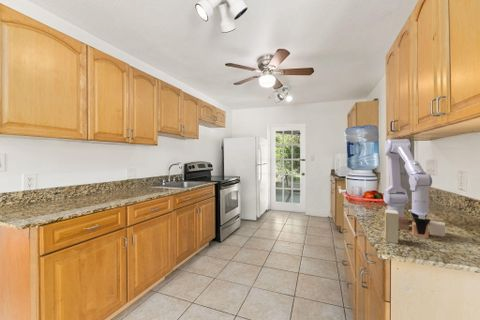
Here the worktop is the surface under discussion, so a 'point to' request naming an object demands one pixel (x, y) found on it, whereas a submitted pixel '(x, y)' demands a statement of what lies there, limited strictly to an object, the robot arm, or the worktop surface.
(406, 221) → the walnut cube
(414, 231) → the terracotta cube
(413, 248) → the worktop surface
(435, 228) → the beige cube
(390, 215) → the skincare box
